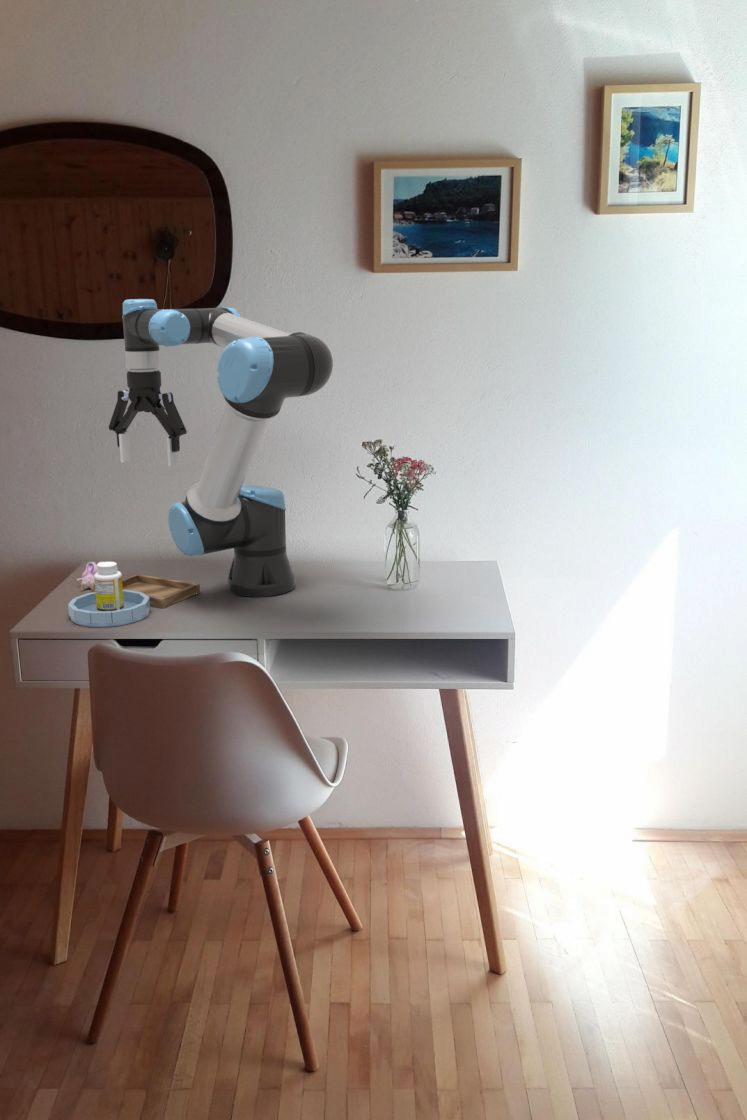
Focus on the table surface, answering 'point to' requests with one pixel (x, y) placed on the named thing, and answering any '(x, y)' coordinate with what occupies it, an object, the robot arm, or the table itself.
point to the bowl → (87, 614)
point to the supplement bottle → (108, 587)
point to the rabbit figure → (89, 576)
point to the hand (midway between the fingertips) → (149, 463)
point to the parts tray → (160, 589)
